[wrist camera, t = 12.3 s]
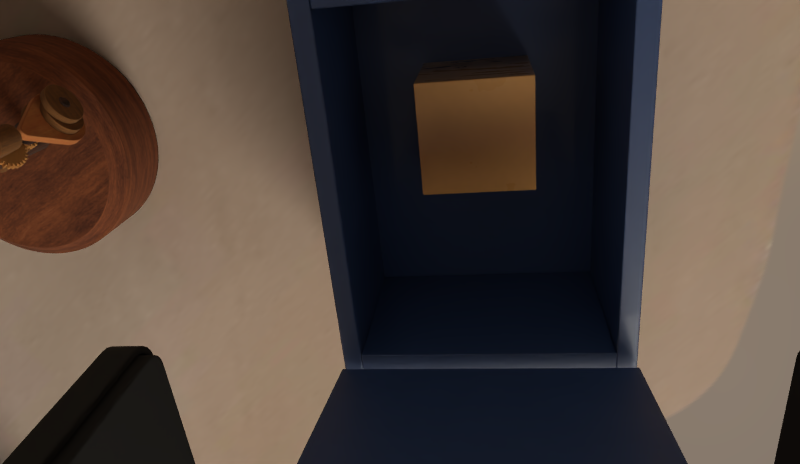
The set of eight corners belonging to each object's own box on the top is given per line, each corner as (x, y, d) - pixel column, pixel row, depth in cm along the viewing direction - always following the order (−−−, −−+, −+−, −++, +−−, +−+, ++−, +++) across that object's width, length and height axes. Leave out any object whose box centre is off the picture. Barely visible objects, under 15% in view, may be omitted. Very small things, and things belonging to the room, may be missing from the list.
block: (423, 62, 28) (413, 83, 24) (527, 54, 27) (535, 74, 23) (431, 160, 30) (422, 195, 26) (528, 155, 29) (536, 190, 25)
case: (334, -25, 28) (283, -14, 21) (617, -54, 26) (666, -52, 19) (374, 282, 34) (345, 370, 27) (603, 276, 32) (636, 369, 25)
